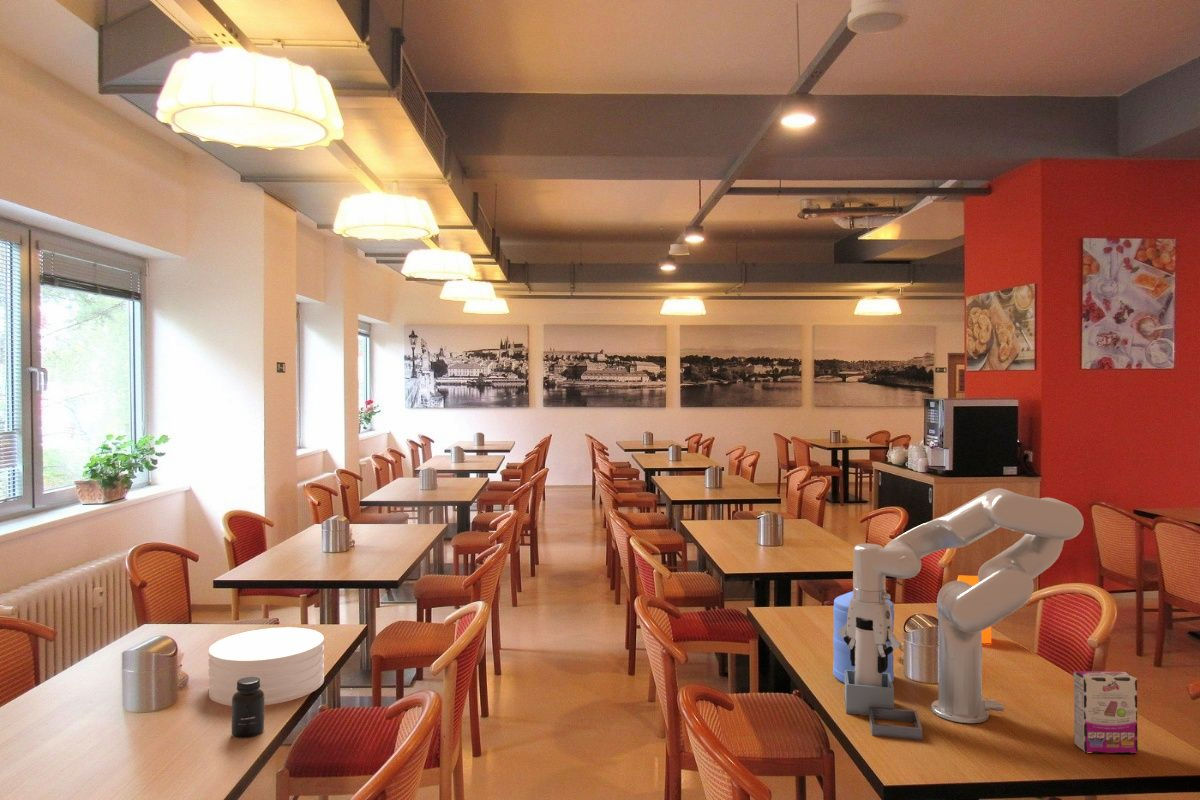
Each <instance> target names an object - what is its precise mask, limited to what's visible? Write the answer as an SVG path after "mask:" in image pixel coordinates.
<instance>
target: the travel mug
mask: <svg viewBox="0 0 1200 800" xmlns="http://www.w3.org/2000/svg"><path fill="white" fill-rule="evenodd" d="M856 623H857V624H856V630H855V685H867V686H878V687H882V673H879V672H878V657H879V656H880V653H879V650H878V645H877V644H875V640H874V634H873V633H874V631H873V628H872V627H873V621H872V620H867V621H864V620H861V619H860V618H858V617H856Z"/></svg>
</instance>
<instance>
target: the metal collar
mask: <svg viewBox="0 0 1200 800" xmlns="http://www.w3.org/2000/svg"><path fill="white" fill-rule="evenodd" d="M874 718H877V719H876V720H884V719H887V721H896V722H897V721H898V722H907V723H913V725H914V727H912V726H903V725H902V726H901V725H892V724H884V723H883V724H882V723H875V719H874ZM868 720H869V725H870V731H871V736H874V737H876V736H877V737H884V738H895V739H903V740H913V741H914V740H915V741H923V727H922V724H921V721H920V718H919V715H918V711H917V710H909V709H900V708H899V709H898V708H894V709H889V708H879V707H869V716H868Z"/></svg>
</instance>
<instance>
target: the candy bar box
mask: <svg viewBox="0 0 1200 800" xmlns="http://www.w3.org/2000/svg"><path fill="white" fill-rule="evenodd" d="M1073 715H1074V716H1073V723H1074V725H1073V727H1074V728H1073V729H1074V730H1073V732H1074V734H1073V735H1074V737H1073V738H1074V739H1073V741H1074V742H1073V743H1074V745H1075V744H1076V745H1077V746H1078V747H1079V749H1080V748H1081V749H1082V750H1083V751H1084V752H1083V751H1082V750H1081V749H1080V750H1081V751H1082V752H1083V753H1085V752H1092V753H1139V752H1138V749H1139V748H1138V679H1137V677H1135V676H1134V675H1132V674H1130V673H1128V672H1127V671H1123V670H1122V671H1115V670H1114V671H1109V670H1108V671H1105V670H1103V671H1098V670H1095V671H1093V670H1091V671H1089V670H1086V671H1084V670H1083V671H1081V670H1079V671H1078V670H1074V671H1073ZM1076 745H1075V746H1076ZM1077 746H1076V747H1077ZM1078 747H1077V748H1078Z"/></svg>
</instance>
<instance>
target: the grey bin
mask: <svg viewBox="0 0 1200 800" xmlns="http://www.w3.org/2000/svg"><path fill="white" fill-rule="evenodd" d="M844 703H845V706H844V707H845V714H848V715H856V714H860V715H859V716H866V715H868V717H869V707H879V708H889V709H895V688H894V683H893V682H892V680H891V676H890V673H882V687H878V686H867V685H855V670H845V683H844Z"/></svg>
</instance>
